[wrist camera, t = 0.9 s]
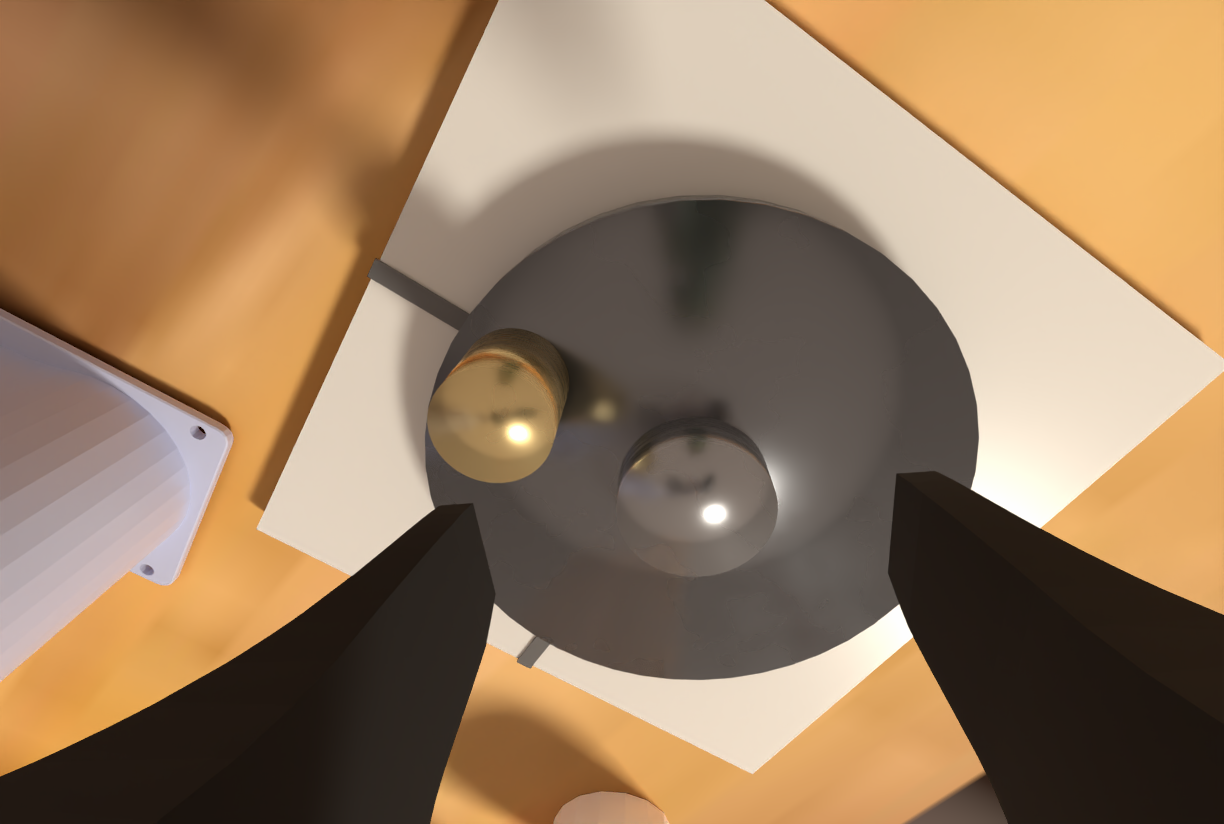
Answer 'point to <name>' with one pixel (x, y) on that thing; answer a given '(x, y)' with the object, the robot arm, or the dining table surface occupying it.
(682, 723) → the wheel base
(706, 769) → the dining table surface
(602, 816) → the white cylinder
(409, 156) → the dining table surface
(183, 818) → the robot arm
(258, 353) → the dining table surface
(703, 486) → the handwheel
